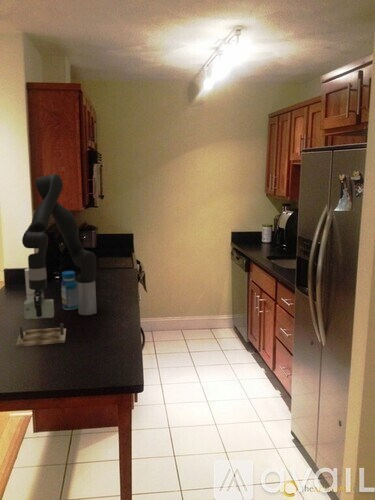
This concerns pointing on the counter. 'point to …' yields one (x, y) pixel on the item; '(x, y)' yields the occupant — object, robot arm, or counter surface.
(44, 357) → the counter surface
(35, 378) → the counter surface
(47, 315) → the rectangular block
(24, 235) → the robot arm
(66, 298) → the blue pill bottle
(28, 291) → the cylindrical container
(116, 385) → the counter surface
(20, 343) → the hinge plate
